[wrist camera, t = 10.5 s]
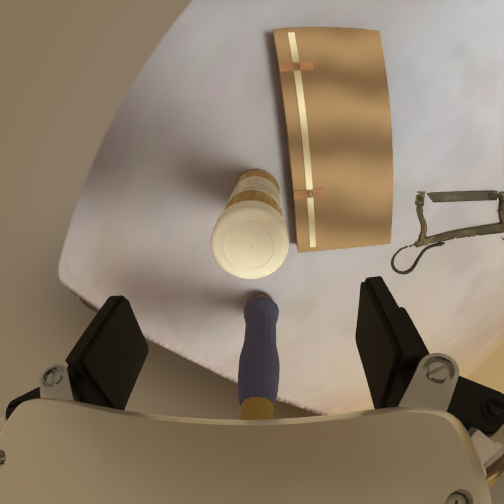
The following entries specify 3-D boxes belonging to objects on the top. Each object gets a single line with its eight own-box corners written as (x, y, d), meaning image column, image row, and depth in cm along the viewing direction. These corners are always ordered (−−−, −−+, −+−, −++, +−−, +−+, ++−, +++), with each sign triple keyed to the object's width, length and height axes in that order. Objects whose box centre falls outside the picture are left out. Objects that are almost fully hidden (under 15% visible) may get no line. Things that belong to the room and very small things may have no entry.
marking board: (272, 35, 22) (273, 28, 20) (372, 35, 21) (379, 30, 19) (296, 244, 31) (298, 252, 29) (383, 236, 30) (390, 244, 28)
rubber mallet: (318, 281, 33) (371, 572, 6) (306, 330, 36) (328, 574, 9) (210, 271, 33) (125, 562, 6) (210, 322, 36) (154, 564, 9)
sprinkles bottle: (259, 220, 30) (254, 295, 18) (225, 193, 29) (194, 251, 17) (289, 188, 28) (306, 243, 16) (254, 158, 27) (242, 192, 15)
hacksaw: (526, 189, 26) (532, 192, 24) (515, 253, 30) (520, 258, 29) (393, 191, 28) (398, 195, 27) (388, 274, 32) (392, 280, 31)
